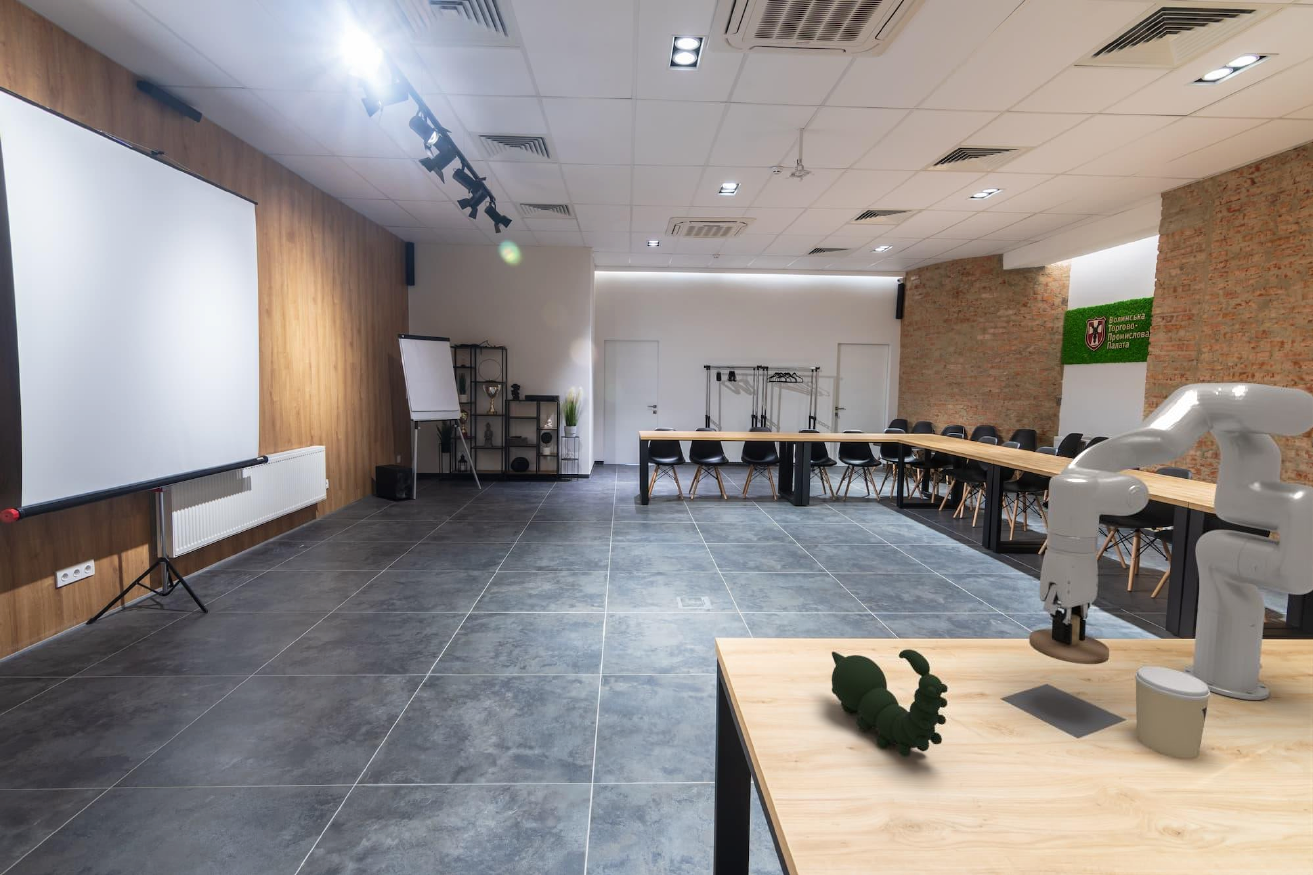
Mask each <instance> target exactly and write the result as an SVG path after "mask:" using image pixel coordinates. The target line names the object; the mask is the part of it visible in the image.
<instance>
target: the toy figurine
mask: <svg viewBox="0 0 1313 875" xmlns="http://www.w3.org/2000/svg"><path fill="white" fill-rule="evenodd" d="M831 657H832V659H833V661H834V665H835V666H834V669H833V671H832V674H831V692H832V693H833V694H832V695H835V696H836V698H837V699H838V700H839V702H840V706H841V708H842V710H843V711H844V712H846V713H847V714H850V715H853V714H855V715H856V714H858V713H859V717H857V720H856V725H857V727H858V729H859V730H860V731H862V732H864V733H867V732H869V731H871V729H872V728H873V729H876V731H877V732H878V735H877V736H876V739H875V741H876V743H877V745H878V747H879V748H883V749H886V748H888V747H889V745H890V744H893V745H896V746H897V747H896V748H897V753H898V754H899V755H900V756H902V757H904V758H905V757H906V758H907V757H908V756H910V755H911V752H912V749H917V750H918V751H920V752H927V751H928V750H929V748H930V742H931V743H932V744H933V745H940V744H942V742H943V738H942V735H941V734H940V733H939V732H937V731H936V725H937V724H938V725H942V726H943V725H944V724H946V722H947V719H946V716H944V715H943V714H940V713H939V710H940V708H943V709H944V708H946V707H947V706H948V700H947V699H946V698H945V697H943V696H941V695H943V694H945V693H947V692H948V686H947V685H946V684H945V683H942V680H941V679H940V678H939V677H938V676H936V675H934V674H931V673H930V671H931V669H930V668H931V666H930V663H929V662H928V660H927V659H926V658H925V656H923V654H921V653H919V652H918V651H916V650H914V649H910V648H909V649H907V648H906V649H903V650H902V651H900V653H899V654H898V657H899V659H905V661H907V662H908V663H909V665H910V667H911V668H912V669H913V670H914V672H915V673H916V674H917V675H918V676H920V678H919V680H918V688H917V689H916V690H915V691H914V695H913V697H914V698H913V700H914V701H913V702H912V703H911V704H910V706H909V711H908V710H907V709H906V708H905V707H903V706H901V705H899V702H898V699H897V698H896V696H895V695H894V693H892V691H889V690H888V682H887V679H886V675H885V673H884V672H883V670H882V669H881V668H880V666H879V665H878V664H877V663H876V662H875V661H873V660H872V659H871V658H868V657H866V656H863V655H860V654H855V655H854V654H853V655H847V656H844V655H842V654H840V653H838V652H836V651H831ZM929 741H930V742H929Z"/></svg>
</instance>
